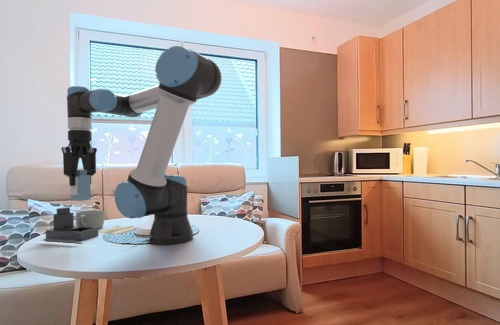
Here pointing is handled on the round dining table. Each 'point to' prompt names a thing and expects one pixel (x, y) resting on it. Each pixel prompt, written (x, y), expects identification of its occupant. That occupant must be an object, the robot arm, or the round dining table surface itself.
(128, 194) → the robot arm
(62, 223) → the dark grey block holder
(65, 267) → the round dining table surface
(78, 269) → the round dining table surface
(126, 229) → the board
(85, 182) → the plug
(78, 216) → the teacup
